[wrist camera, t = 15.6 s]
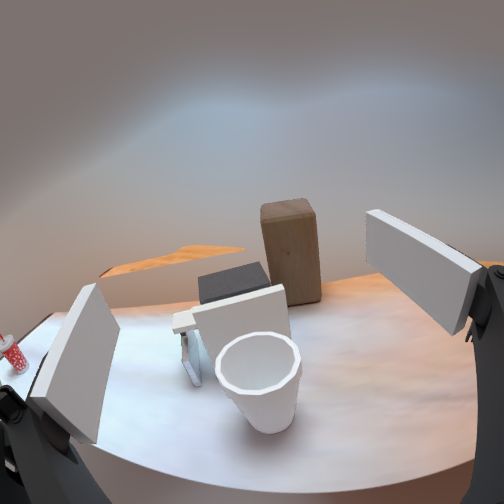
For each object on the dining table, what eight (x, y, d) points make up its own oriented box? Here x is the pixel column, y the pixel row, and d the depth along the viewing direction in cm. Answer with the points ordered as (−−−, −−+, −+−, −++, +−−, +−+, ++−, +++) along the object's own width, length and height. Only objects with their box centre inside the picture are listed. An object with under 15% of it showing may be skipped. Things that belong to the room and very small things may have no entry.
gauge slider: (293, 352, 42) (284, 289, 37) (193, 378, 40) (164, 319, 35) (283, 332, 47) (273, 270, 42) (192, 355, 45) (166, 298, 40)
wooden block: (275, 309, 56) (259, 218, 47) (273, 283, 65) (259, 203, 56) (322, 302, 55) (315, 210, 46) (314, 277, 64) (306, 196, 55)
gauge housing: (298, 377, 39) (291, 322, 34) (195, 403, 37) (166, 354, 32) (268, 311, 56) (259, 261, 50) (190, 331, 54) (171, 283, 48)
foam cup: (316, 403, 34) (315, 344, 28) (282, 453, 27) (270, 408, 22) (262, 382, 39) (247, 323, 34) (226, 424, 33) (198, 372, 27)
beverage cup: (14, 368, 44) (-14, 327, 38) (28, 357, 49) (1, 315, 43) (18, 379, 41) (-14, 336, 35) (33, 367, 45) (3, 323, 39)
